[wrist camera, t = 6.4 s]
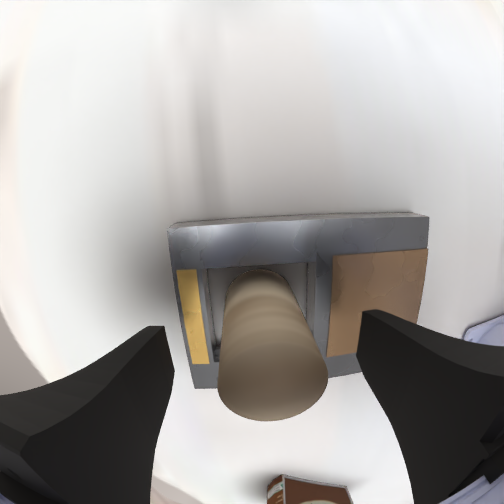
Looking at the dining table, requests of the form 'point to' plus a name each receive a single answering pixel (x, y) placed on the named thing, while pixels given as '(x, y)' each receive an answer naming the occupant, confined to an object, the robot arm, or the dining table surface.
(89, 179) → the dining table surface
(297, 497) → the food container
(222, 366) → the peg
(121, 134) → the dining table surface
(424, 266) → the plate
